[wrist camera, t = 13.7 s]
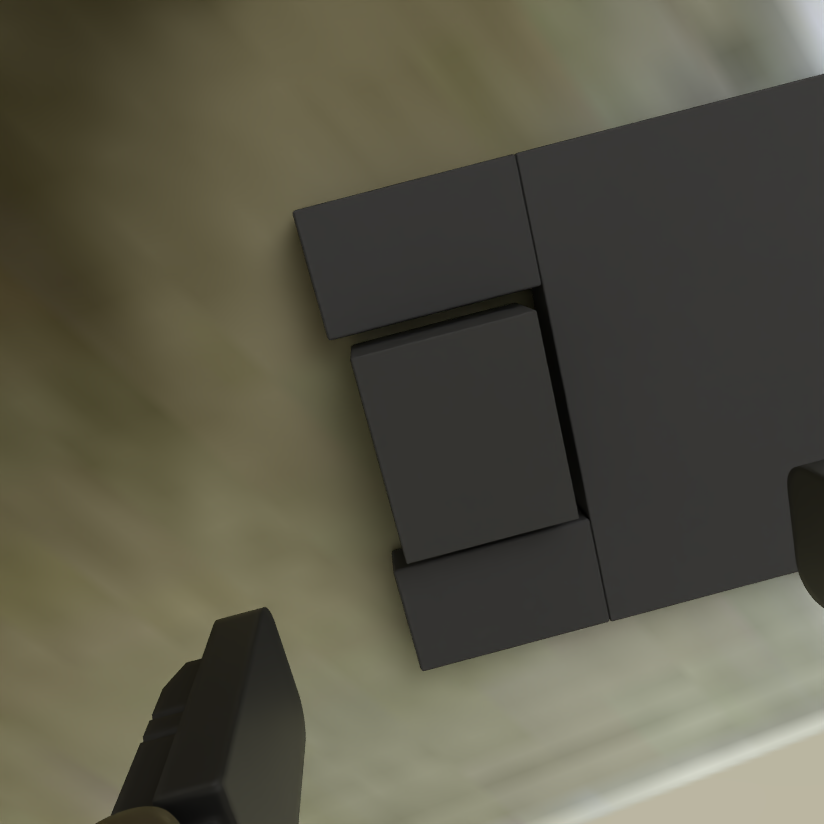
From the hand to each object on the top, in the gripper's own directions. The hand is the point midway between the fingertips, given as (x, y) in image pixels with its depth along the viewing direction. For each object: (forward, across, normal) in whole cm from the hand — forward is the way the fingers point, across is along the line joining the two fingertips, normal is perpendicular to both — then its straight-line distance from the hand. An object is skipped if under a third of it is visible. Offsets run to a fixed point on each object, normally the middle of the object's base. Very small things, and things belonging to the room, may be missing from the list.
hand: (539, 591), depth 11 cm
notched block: (+11, -6, 0) cm, 13 cm away
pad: (+11, 0, 0) cm, 11 cm away
